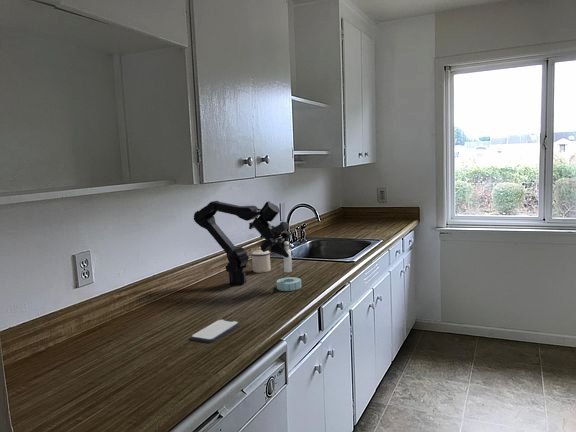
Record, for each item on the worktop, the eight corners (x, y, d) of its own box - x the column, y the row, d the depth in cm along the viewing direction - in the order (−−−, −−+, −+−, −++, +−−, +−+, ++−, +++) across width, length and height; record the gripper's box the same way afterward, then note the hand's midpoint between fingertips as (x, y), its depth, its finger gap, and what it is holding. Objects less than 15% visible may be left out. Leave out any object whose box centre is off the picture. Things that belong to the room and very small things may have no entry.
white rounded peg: (282, 271, 199) (280, 242, 197) (288, 269, 201) (287, 240, 199) (287, 272, 196) (285, 242, 195) (293, 271, 198) (291, 241, 197)
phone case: (211, 345, 144) (241, 326, 158) (211, 340, 144) (240, 321, 158) (189, 341, 148) (219, 323, 162) (188, 336, 148) (219, 318, 162)
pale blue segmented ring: (274, 290, 196) (274, 283, 195) (280, 284, 205) (280, 277, 205) (298, 291, 193) (297, 283, 193) (303, 284, 203) (302, 277, 203)
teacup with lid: (273, 268, 235) (271, 245, 234) (267, 273, 227) (266, 249, 225) (250, 268, 239) (249, 245, 237) (244, 272, 230) (242, 249, 228)
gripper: (265, 219, 189) (291, 247, 186) (286, 212, 206) (311, 238, 202) (249, 238, 194) (275, 266, 190) (271, 230, 210) (295, 256, 207)
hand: (290, 255), depth 197 cm, fingers closed on white rounded peg, 3 cm apart
